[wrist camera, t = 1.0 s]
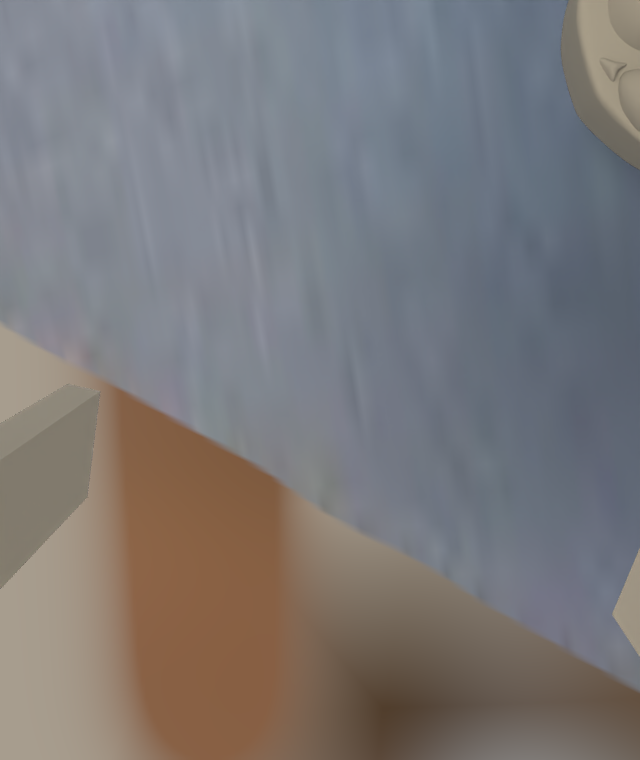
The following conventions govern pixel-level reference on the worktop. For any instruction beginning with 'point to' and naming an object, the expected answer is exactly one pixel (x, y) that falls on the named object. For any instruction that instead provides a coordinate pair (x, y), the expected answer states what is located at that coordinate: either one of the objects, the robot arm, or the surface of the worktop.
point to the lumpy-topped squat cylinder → (605, 70)
